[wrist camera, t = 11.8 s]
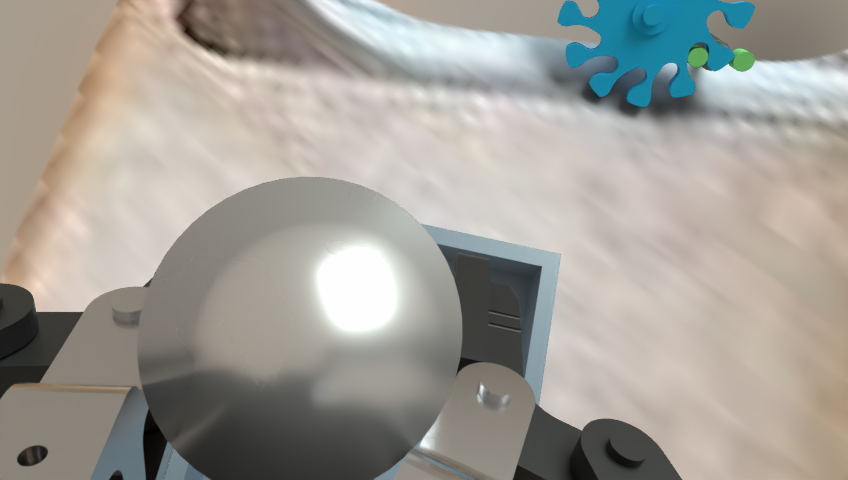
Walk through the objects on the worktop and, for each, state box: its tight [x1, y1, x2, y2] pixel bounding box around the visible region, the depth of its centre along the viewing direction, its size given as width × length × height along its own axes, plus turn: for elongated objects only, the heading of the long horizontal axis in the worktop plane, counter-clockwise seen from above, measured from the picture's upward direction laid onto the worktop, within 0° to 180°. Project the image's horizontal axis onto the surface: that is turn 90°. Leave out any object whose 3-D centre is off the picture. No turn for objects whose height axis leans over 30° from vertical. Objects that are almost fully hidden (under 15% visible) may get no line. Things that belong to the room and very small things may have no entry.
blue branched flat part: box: [558, 0, 755, 107], centre depth 32 cm, size 11×6×10 cm
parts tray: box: [164, 224, 561, 480], centre depth 26 cm, size 15×15×4 cm
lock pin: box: [137, 177, 462, 480], centre depth 12 cm, size 4×4×10 cm
